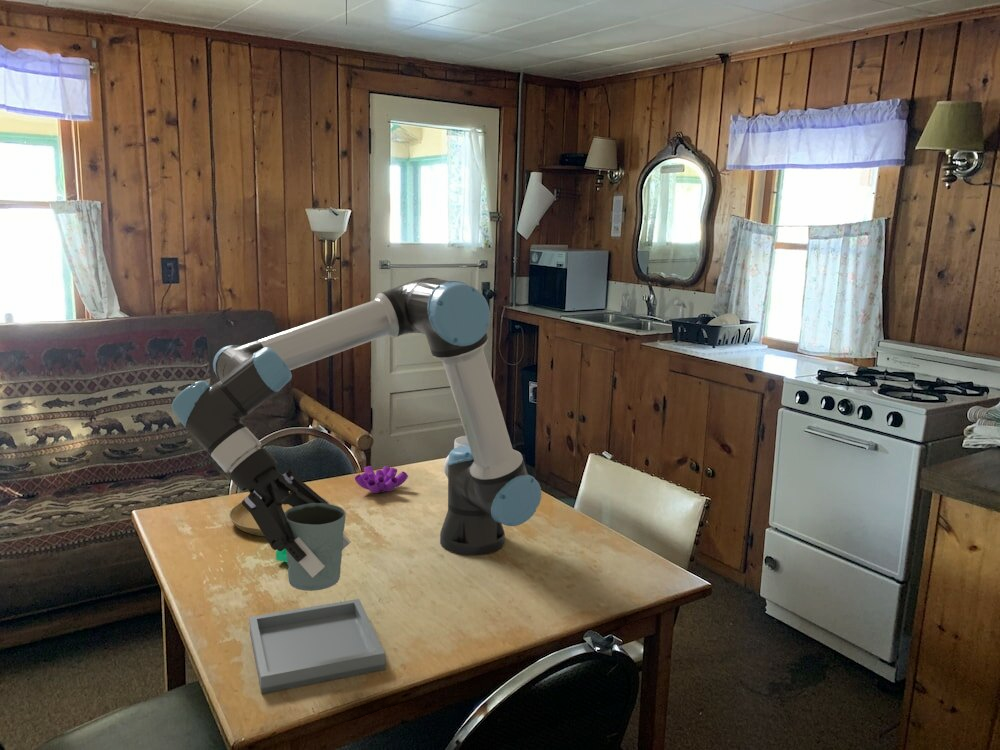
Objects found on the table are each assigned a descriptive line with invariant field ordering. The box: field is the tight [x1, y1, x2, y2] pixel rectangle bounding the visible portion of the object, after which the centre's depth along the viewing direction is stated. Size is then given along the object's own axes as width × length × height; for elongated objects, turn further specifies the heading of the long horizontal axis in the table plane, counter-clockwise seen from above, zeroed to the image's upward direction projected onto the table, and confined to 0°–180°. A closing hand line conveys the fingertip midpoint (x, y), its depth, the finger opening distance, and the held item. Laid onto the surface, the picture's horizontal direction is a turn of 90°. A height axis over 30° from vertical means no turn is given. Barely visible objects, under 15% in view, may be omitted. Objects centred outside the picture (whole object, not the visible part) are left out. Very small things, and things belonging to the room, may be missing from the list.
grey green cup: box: [285, 503, 347, 592], centre depth 133 cm, size 10×10×12 cm
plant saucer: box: [228, 495, 331, 537], centre depth 193 cm, size 24×24×3 cm
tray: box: [248, 598, 386, 695], centre depth 136 cm, size 20×20×3 cm
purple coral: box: [354, 465, 409, 494], centre depth 214 cm, size 11×15×10 cm
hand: (332, 559), depth 132 cm, fingers closed on grey green cup, 10 cm apart
